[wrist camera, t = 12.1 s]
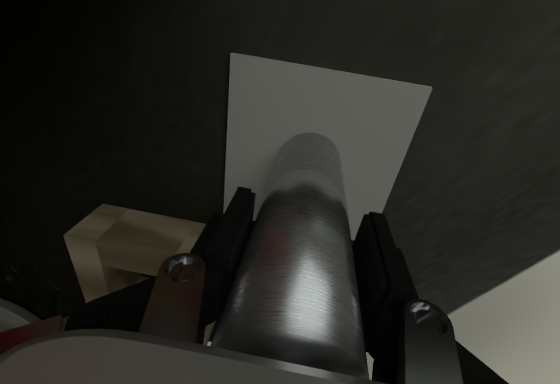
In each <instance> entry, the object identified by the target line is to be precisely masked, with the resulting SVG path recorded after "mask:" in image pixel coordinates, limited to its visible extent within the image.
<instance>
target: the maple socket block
mask: <svg viewBox="0 0 560 384" xmlns="http://www.w3.org/2000/svg"><path fill="white" fill-rule="evenodd" d="M205 226H206V224H204V223H199V222H194V221H189V220H184V219H179V218H173V217H168V216H163V215H158V214H153V213H148V212H143V211H138V210H133V209H127V208H122V207H117V206H112V205H107V204H102V205H100V206H99V207H98V208H97V209H95V210H94V211H93V212H92V213H90V214H89V215H88V216H87V217H85V218H84V219H83V220H82V221H80V222H79V223H78V224H77V225H75V226H74V227H73V228H72V229H70V230H69V231H68V232H67V233H65V234H64V235H63V236H64V239H65V242H66V245H67V248H68V251H69V254H70V257H71V260H72V263H73V266H74V269H75V271H76V274H77V277H78V280H79V283H80V286H81V289H82V292H83V295H84V298H85V301H86V303H87V302H89V301H91V300H94V299H96V298H99V297H102V296H104V295H107V294H110V293H112V292H115V291H117V290H120V289H123V288H125V287H128V286H131V285H133V284H136V283H138V282H141V281H144V280H146V279H149V277H144V276H141V273H142V274H147V275H151V276H157V274H158V271H159V268H160V266H161V265H162V263H163V262H164V261H165V260H166V259H167V258H169V257H171V256H173V255H176V254H179V253H190V251H191V249H192V248H193V246H194V244H195V243H196V241H197V239H198V237H199V236H200V234H201V232H202V231H203V229H204V227H205ZM214 324H215V322H213V323H211V324H209V325H207V326H206V327H205V336H204V344H203V345H206V346H207V343H208V340H209V338H210V335H211V332H212V329H213V327H214Z"/></svg>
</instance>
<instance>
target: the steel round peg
mask: <svg viewBox="0 0 560 384" xmlns="http://www.w3.org/2000/svg"><path fill="white" fill-rule="evenodd" d="M211 347H216V348H221V349H225V350H230V351H235V352H240V353H245V354H250V355H255V356H259V357H264V358H269V359H274V360H279V361H283V362H288V363H293V364H298V365H302V366H307V367H312V368H316V369H321V370H326V371H331V372H335V373H340V374H345V375H349V376H354V377H359V378H363V379H368V380H369V374H368V366H367V358H366V350H365V343H364V335H363V327H362V319H361V311H360V304H359V296H358V288H357V280H356V273H355V265H354V257H353V249H352V242H351V234H350V226H349V218H348V210H347V203H346V195H345V187H344V179H343V172H342V164H341V156H340V153H339V150H338V148H337V146H336V145H335V144H334V143H333V142H332V141H331V140H330V139H329V138H327V137H326V136H324V135H321V134H318V133H313V132H306V133H301V134H297V135H295V136H293V137H291V138H290V139H289V140H287V141H286V142H285V144H284V145H283V146H282V148H281V150H280V153H279V155H278V158H277V161H276V164H275V167H274V169H273V172H272V175H271V178H270V181H269V183H268V186H267V189H266V192H265V195H264V197H263V200H262V203H261V206H260V209H259V211H258V214H257V217H256V220H255V223H254V225H253V228H252V231H251V234H250V237H249V239H248V242H247V245H246V248H245V251H244V253H243V256H242V259H241V262H240V265H239V267H238V270H237V273H236V276H235V279H234V281H233V284H232V287H231V290H230V293H229V295H228V298H227V301H226V304H225V307H224V309H223V312H222V315H221V318H220V321H219V324H218V326H217V329H216V332H215V335H214V338H213V340H212V343H211Z"/></svg>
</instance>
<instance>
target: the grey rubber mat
mask: <svg viewBox="0 0 560 384" xmlns="http://www.w3.org/2000/svg"><path fill="white" fill-rule="evenodd" d="M431 91H432V87H430V86H425V85H419V84H413V83H407V82H401V81H395V80H390V79H384V78H378V77H372V76H366V75H360V74H354V73H349V72H343V71H337V70H331V69H325V68H319V67H314V66H308V65H302V64H296V63H290V62H284V61H278V60H273V59H267V58H261V57H255V56H249V55H243V54H238V53H231V54H230V76H229V99H228V121H227V144H226V166H225V189H224V211H223V214H224V213H225V211H226V209H227V207H228V205H229V203H230V201H231V200H232V198H233V196H234V194H235V192H236V190H237V188H238V187H245V188H250V189H252V192H253V193H256V197H255V205H254V214H253V221H255V220H256V217H257V214H258V211H259V209H260V206H261V203H262V200H263V197H264V195H265V192H266V189H267V186H268V183H269V181H270V178H271V175H272V172H273V169H274V167H275V164H276V161H277V158H278V155H279V153H280V150H281V148H282V146H283V145H284V144H285V142H286V141H287V140H289V139H290V138H291V137H293V136H295V135H297V134H301V133H306V132H313V133H318V134H321V135H324V136H326V137H327V138H329V139H330V140H331V141H332V142H333V143H334V144H335V145H336V146H337V148H338V150H339V153H340V156H341V164H342V172H343V179H344V187H345V195H346V203H347V210H348V218H349V226H350V234H351V240H355V237H356V234H357V232H358V229H359V226H360V224H361V221H362V218H363V216H364V214H369V212H370V211H372V212H377V213H382V211H383V209H384V206H385V204H386V201H387V199H388V196H389V194H390V191H391V189H392V187H393V184H394V182H395V179H396V177H397V174H398V172H399V169H400V167H401V164H402V162H403V159H404V157H405V155H406V152H407V150H408V147H409V145H410V142H411V140H412V137H413V135H414V132H415V130H416V127H417V125H418V123H419V120H420V118H421V115H422V113H423V110H424V108H425V105H426V103H427V100H428V98H429V95H430V93H431Z"/></svg>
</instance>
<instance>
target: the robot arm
mask: <svg viewBox="0 0 560 384" xmlns="http://www.w3.org/2000/svg"><path fill="white" fill-rule="evenodd" d="M255 197H256V193H253V192H252V189H250V188H245V187H238V188H237V190H236V192H235V194H234V196H233V198H232V200H231V201H230V203H229V205H228V207H227V209H226V211H225V213H224V214H220V213H215V212H214V213H213V214H212V215H211V217H210V219H209V220H208V222H207V224H206V226H205V227H204V229H203V231H202V232H201V234H200V236H199V237H198V239H197V241H196V243H195V244H194V246H193V248H192V249H191V251H190V253H179V254H176V255H173V256H171V257H169V258H167V259H166V260H165V261H164V262H163V263H162V265H161V266H160V268H159V271H158V274H157V276H154V277H152V278H149V279H146V280H144V281H141V282H138V283H136V284H133V285H131V286H128V287H125V288H123V289H120V290H117V291H115V292H112V293H110V294H107V295H104V296H102V297H99V298H96V299H94V300H91V301H89V302H87V303H85V304H83V305H81V306H80V307H79V308H77V309H76V310H75V311H74V312H73V313H72V314H71V315H70V316H69V317H65V318H62V317H61V315H59V316H55V317H52V318H48V319H45V320H41V319H40V318H39V317H37V316H36V315H34V314H33V313H31V312H30V311H28V310H26V309H25V308H23V307H21V306H19V305H17V304H15V303H12V302H10V301H8V300H5V299H2V298H0V384H509V383H507V382H506V381H505V380H504V379H502V378H501V377H500V376H499V375H497V374H496V373H495V372H494V371H493V370H491V369H490V368H489V367H488V366H487V365H485V364H484V363H483V362H482V361H480V360H479V359H478V358H477V357H476V356H474V355H473V354H472V353H471V352H469V351H468V350H467V349H466V348H465V347H463V346H462V345H461V344H460V343H458V342H457V341H456V340H455V336H454V330H453V326H452V323H451V321H450V319H449V318H448V316H447V315H446V314H445V313H444V312H443V311H442V310H441V309H440V308H439V307H437V306H436V305H435V304H433V303H431V302H429V301H427V300H423V299H419V298H418V295H417V292H416V289H415V287H414V284H413V281H412V278H411V276H410V273H409V270H408V267H407V264H406V262H405V259H404V256H403V253H402V251H401V249H399V248H397V247H396V246H395V243H394V240H393V237H392V234H391V231H390V229H389V226H388V223H387V220H386V217H385V215H384V214H382V213H377V212H372V211H370V212H369V214H364V216H363V218H362V221H361V224H360V226H359V229H358V232H357V234H356V237H355V240H354V243H353V245H352V249H353V257H354V265H355V273H356V280H357V288H358V296H359V304H360V311H361V319H362V327H363V335H364V343H365V350H366V352H368V353H369V354H370V356H372V358H373V359H374V362H373V371H372V380H368V379H363V378H359V377H354V376H349V375H345V374H340V373H335V372H331V371H326V370H321V369H316V368H312V367H307V366H302V365H298V364H293V363H288V362H283V361H279V360H274V359H269V358H264V357H259V356H255V355H250V354H245V353H240V352H235V351H230V350H225V349H221V348H216V347H211V346H206V345H203V344H204V336H205V327H206V326H207V325H209V324H211V323H213V322H215V321H220V318H221V315H222V312H223V309H224V307H225V304H226V301H227V298H228V295H229V293H230V290H231V287H232V284H233V281H234V279H235V276H236V273H237V270H238V267H239V265H240V262H241V259H242V256H243V253H244V251H245V248H246V245H247V242H248V239H249V237H250V234H251V231H252V223H253V214H254V205H255Z"/></svg>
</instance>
